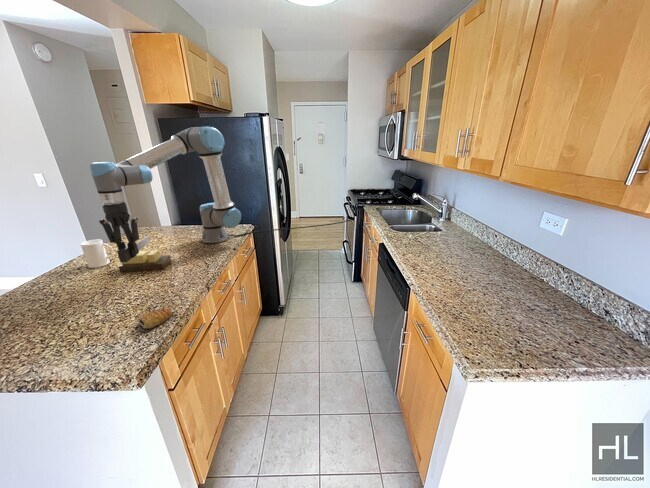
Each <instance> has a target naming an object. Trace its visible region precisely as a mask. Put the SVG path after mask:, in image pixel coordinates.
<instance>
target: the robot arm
mask: <svg viewBox="0 0 650 488" xmlns="http://www.w3.org/2000/svg"><path fill="white" fill-rule="evenodd" d="M224 146H225V138H224V136H223V134H222V133H221V132H220V130H218V129H217V128H215V127H214V126H208V125H207V126H193V127H189V128H188V127H187V128H186V129H183V130H182V131H179V132H178V133H176V134H174V135H172V136H171V137H170V139H168V140H166V141H164V142H161V143H159V144H158V145H155V146H153V147H151V148H149V149H147V150H144V151H142V152H140V153H138V154H135V155H133V156H131V157H129V158H127V159H124V160H122V161H120V162H117V163H115V162H113V161H95V162H91V163H90V164H89V168H90V172H91V177H92V179H93V181H94V185H95V187H96V188H95V189H96V190H97V194H98V197H99V201H100V203H101V204H102V205H101V207H102V210H103V213H104V218H101V219H99V220H98V222H99V224H100V225H101V226H102V228H103V229H104V232H105V234H106V236H107V239H108V240H109V242H110V243H111V244H112V243H114V244H116V247H117V251H118V250H120V249H121V248H123V247H124V246H126V245H128V248H129V251H130V255H131V258H134V257H135V256H136V252H135V249H136V244H135V242H138V240H140V236H139V235H140V234H139V227H138V220H139V218H138V217H133V216H131V215H130V213H129V210H128V207H127V203H126V202H125V201H126V199H125V195H124V193H123V189H122V187H126V186H135V185H136V186H137V185H146V184H150V183H152V181H153V173H152V171H151V169H154V168H155V167H157V166H159V165H162V164H163V163H165V162H167V161H169V160H171V159H173V158H175V157H177V156H180V155H186V154H188V153H192V152H197V155H198V157H199V158H200V159H201V160H202V162H203V165H204V168H205V173H206V176H207V180H208V183H209V186H210V190H211V194H212V198H213V202H208V203H203V204H200V206H199V214H200V218H201V223H202V229H203V230H202V232H201V241H202V243H204V244H219V243H223V242H225V241H227V240H228V239H229V237H241V236H245V235H250V234H256V233H266V232H275V231H285V230H296V229H306V228H318V227H325V226H331V225H338V224H344V223H346V222H350V223H351V222H352V221H351V219H345V220H344V221H338V222H332V223H326V224H316V225H308V226H296V227H287V228H286V227H285V228H284V227H283V228H275V229H265V230H258V231H249V232H244V233H241V234H229V233H228V232H227V230H226V229H234V228H236V227H237V226H239V224H240V222H241V220H242V213H241V211H240V210H239V209H238V208H236V206H235V205H236V204H235V202H234V201H232V200H231V196H230V192H229V188H228V184H227V180H226V175H225V171H224V167H223V163H222V159H221V157H222V155H223V149H224ZM121 229H122V230H123V232H124V235H125V237H126V240H127V243H125V241H124V240H123V239H122V233H121Z"/></svg>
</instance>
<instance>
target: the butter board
mask: <svg viewBox="0 0 650 488" xmlns="http://www.w3.org/2000/svg"><path fill="white" fill-rule="evenodd" d="M170 262H172V257H171V255H170V254H169V255H160V258H159V259H158V260H157V261H156V262H152V263H149V262H148V260H147V261H146V262H145V263H135V264H122V263H120V264H119V265H117V266H118V270H119V272H120V273H126V272H127V273H128V272H139V271H155V270H157V271H158V270H164V269H165V268H166V267H167V266H168V265H169V264H170Z"/></svg>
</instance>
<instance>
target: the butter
mask: <svg viewBox="0 0 650 488" xmlns="http://www.w3.org/2000/svg"><path fill="white" fill-rule="evenodd" d="M149 253H150V251H149V250H140V251H139V253H138V254H137V255H136V256H135V257H134V258H132V259H130V260H129V261H128V262H120V264H135V263H145V262H146V261H147V260H148V258H147V254H149Z"/></svg>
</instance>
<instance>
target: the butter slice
mask: <svg viewBox="0 0 650 488" xmlns="http://www.w3.org/2000/svg"><path fill="white" fill-rule="evenodd" d="M160 256H161V252H160V249H156V250H155V249H152V250H151V251H149V254H147V258H148V262H149V263H152V262H156V261H157V260H158V259H159V258H160Z"/></svg>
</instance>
